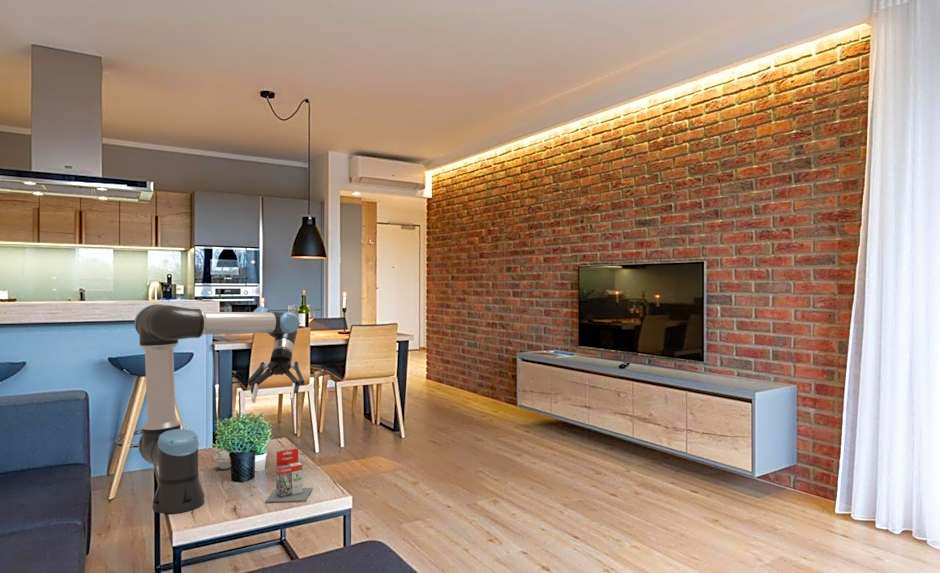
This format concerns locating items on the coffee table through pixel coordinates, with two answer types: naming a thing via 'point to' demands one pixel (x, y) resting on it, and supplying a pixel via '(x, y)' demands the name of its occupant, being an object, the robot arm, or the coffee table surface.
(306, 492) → the mat
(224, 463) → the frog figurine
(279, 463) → the ink box
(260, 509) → the coffee table surface
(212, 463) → the coffee table surface
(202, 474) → the coffee table surface
